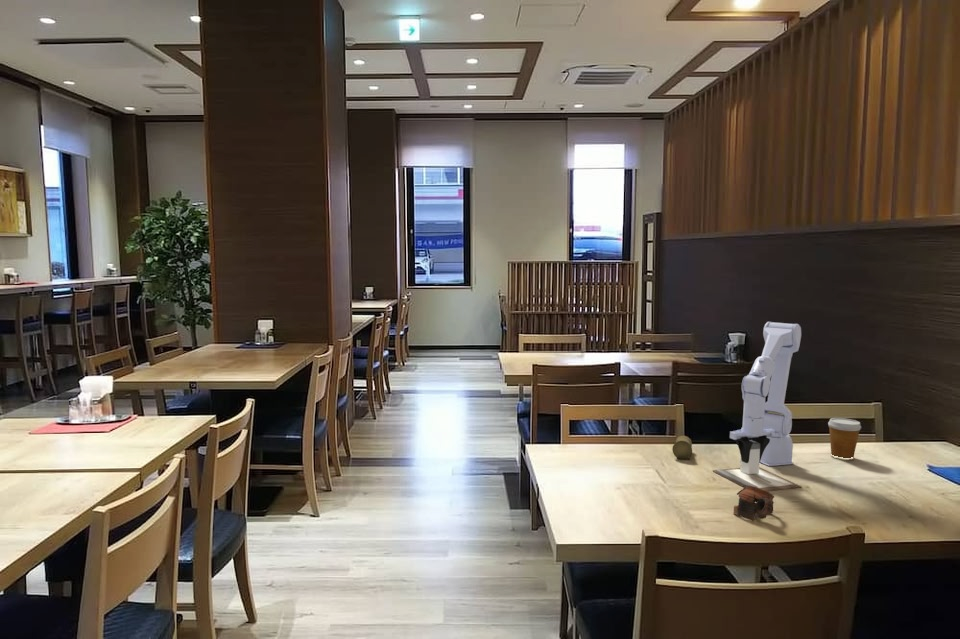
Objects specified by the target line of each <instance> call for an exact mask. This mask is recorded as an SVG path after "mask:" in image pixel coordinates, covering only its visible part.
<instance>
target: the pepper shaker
mask: <svg viewBox="0 0 960 639" xmlns="http://www.w3.org/2000/svg"><path fill="white" fill-rule="evenodd" d="M692 442H693V441H692V439H691V438H689V436H686V435H680V436H678V437H677V438H676V439H675V443H673V445H672V449H671V450H672V454H673V455H674V456H675V457H676V458H677V459H679V460H687V459H688V458H690V457H691V456H692V454H693V446H692V445H693V443H692Z"/></svg>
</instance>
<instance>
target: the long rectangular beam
mask: <svg viewBox="0 0 960 639" xmlns="http://www.w3.org/2000/svg"><path fill="white" fill-rule="evenodd" d="M749 441H752V442H753V444H752V446H751V450H750V456H749V462H748V463H745V462H743V461H742V459H741V458H740V467H739V468H740V471H742V472H744V473H747V474H758V473H759V467H760V462H759V458H760V444H761V443H758V442H755V441H753V440H752V439H751V440H750V439H749Z"/></svg>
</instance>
